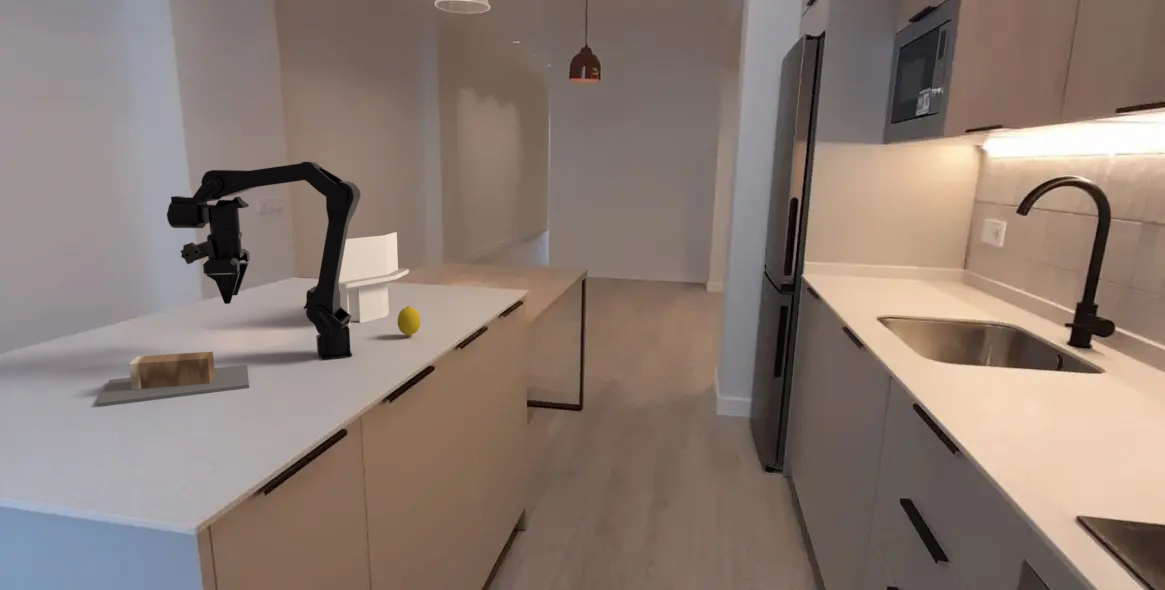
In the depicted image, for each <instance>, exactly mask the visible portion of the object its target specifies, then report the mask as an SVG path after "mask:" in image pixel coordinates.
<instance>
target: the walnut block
mask: <svg viewBox="0 0 1165 590" xmlns="http://www.w3.org/2000/svg"><path fill="white" fill-rule="evenodd" d="M214 360H215V359H214V352H213V351H202V352H186V353H184V352H183V353H168V354H153V355H138V356H136V357H135V358H134V359H132V360H131V361H130V362H129V363H128V367H129V375H130V377H131V385H132V389H144V388H157V387H169V386H182V385H195V384H208V383H211V381H212V380H213V378H214V376H215V368H216V367H215V361H214ZM130 377H129V378H130Z"/></svg>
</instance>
